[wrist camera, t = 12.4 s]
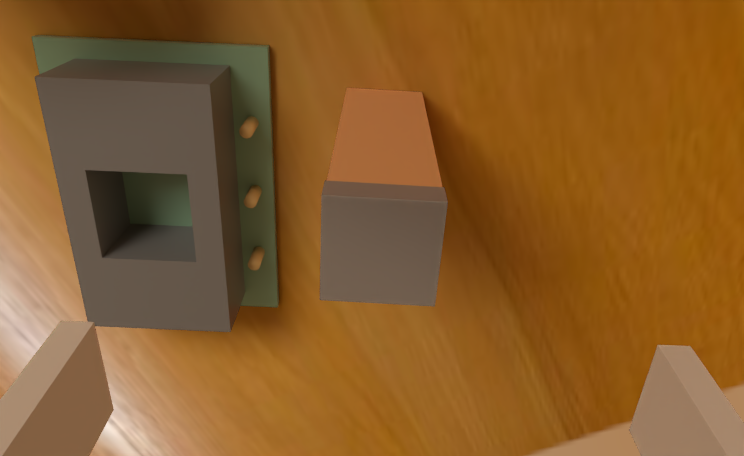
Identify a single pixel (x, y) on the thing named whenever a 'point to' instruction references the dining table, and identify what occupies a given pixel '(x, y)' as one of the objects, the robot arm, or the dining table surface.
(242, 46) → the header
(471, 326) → the dining table surface
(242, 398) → the dining table surface
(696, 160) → the dining table surface
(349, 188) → the plug
